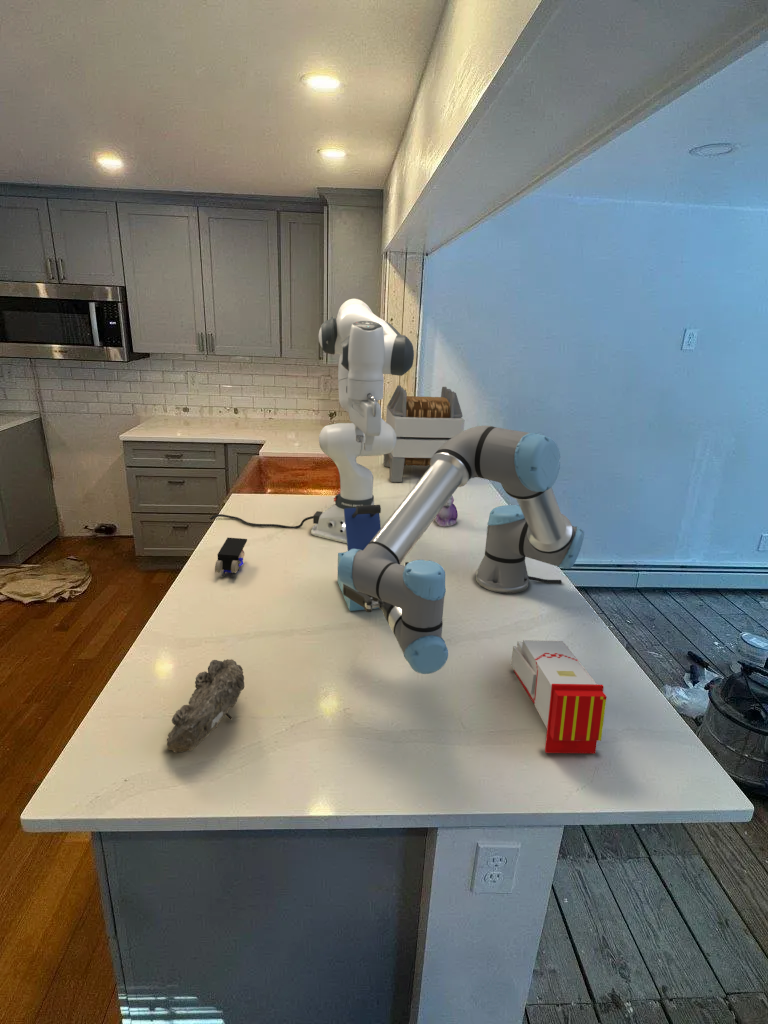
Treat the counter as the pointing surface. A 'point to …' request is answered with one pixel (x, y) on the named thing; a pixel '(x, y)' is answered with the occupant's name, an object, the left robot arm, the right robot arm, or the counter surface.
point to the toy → (561, 695)
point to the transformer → (420, 428)
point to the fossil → (206, 705)
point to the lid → (361, 525)
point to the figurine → (447, 514)
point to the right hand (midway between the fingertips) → (378, 569)
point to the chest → (350, 603)
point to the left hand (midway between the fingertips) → (363, 446)
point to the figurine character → (230, 556)
